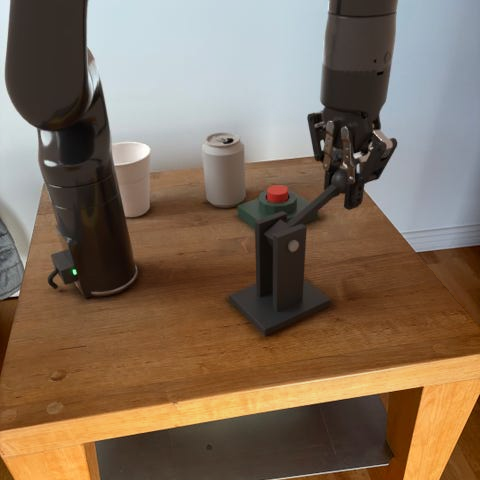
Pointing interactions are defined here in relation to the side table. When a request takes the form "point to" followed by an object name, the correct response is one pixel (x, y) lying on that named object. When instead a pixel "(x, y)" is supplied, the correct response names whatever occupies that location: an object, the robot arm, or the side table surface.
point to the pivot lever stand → (279, 280)
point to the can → (224, 169)
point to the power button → (277, 194)
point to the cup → (133, 176)
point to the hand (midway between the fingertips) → (342, 201)
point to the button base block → (272, 208)
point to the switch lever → (312, 205)
